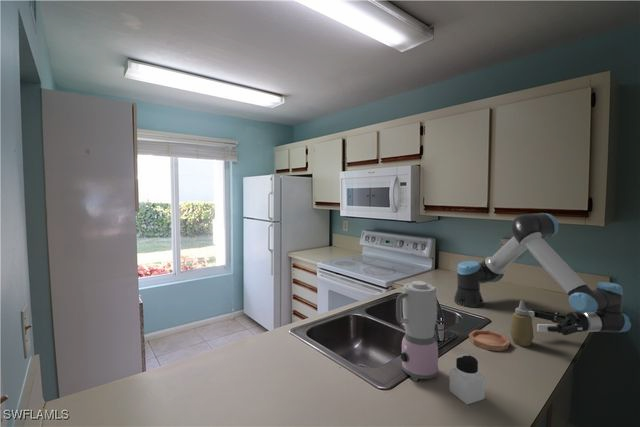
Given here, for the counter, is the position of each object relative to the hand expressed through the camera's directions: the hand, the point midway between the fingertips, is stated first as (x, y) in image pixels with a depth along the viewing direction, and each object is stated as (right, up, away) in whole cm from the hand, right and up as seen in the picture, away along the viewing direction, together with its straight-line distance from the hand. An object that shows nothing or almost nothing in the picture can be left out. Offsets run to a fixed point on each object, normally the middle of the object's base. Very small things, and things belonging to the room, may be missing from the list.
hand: (527, 320), depth 123 cm
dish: (-14, -10, +2) cm, 18 cm away
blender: (-52, -12, -18) cm, 56 cm away
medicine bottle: (-40, -13, -30) cm, 51 cm away
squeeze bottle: (-1, -10, +1) cm, 10 cm away
